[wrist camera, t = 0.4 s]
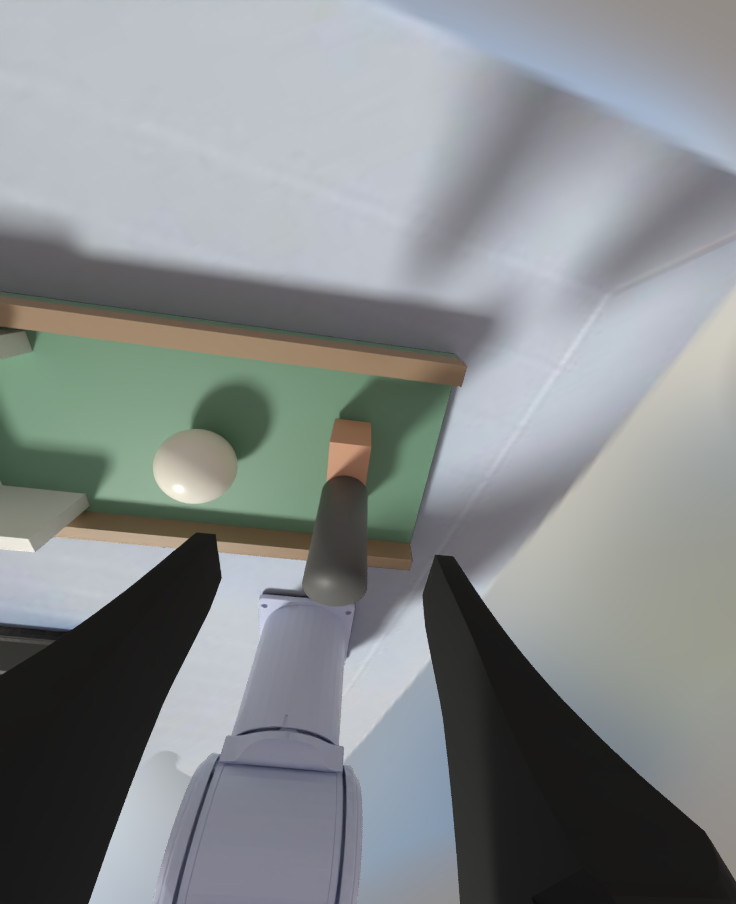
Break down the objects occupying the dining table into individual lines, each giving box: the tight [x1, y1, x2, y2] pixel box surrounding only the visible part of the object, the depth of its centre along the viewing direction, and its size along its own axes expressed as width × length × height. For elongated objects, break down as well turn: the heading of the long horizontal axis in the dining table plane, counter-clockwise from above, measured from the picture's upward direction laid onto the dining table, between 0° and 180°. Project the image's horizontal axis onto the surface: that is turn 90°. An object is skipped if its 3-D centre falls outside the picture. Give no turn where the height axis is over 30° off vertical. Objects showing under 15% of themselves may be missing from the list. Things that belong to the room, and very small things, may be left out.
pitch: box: [0, 292, 467, 570], centre depth 19 cm, size 14×28×2 cm, turn 83°
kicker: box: [302, 418, 371, 607], centre depth 16 cm, size 6×2×8 cm, turn 172°
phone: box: [0, 626, 69, 675], centre depth 31 cm, size 8×1×15 cm
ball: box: [153, 429, 238, 504], centre depth 17 cm, size 4×4×4 cm
